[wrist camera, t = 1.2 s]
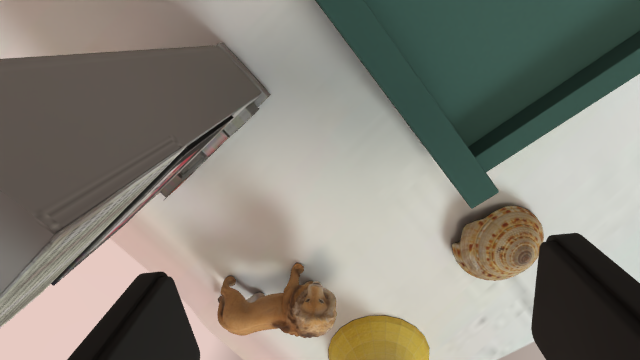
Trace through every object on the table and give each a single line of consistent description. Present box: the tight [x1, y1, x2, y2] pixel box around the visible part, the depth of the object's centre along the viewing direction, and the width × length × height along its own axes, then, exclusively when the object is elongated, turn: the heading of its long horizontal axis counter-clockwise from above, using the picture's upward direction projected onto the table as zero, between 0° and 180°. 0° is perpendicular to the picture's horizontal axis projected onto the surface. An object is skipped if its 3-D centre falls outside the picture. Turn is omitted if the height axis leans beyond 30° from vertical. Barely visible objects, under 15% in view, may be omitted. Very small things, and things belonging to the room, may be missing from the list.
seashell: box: [452, 206, 544, 281], centre depth 35 cm, size 8×6×8 cm
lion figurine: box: [218, 263, 337, 338], centre depth 35 cm, size 15×5×9 cm, turn 113°
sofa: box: [315, 0, 640, 208], centre depth 23 cm, size 19×16×11 cm
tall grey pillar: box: [0, 43, 270, 328], centre depth 22 cm, size 14×6×25 cm, turn 132°
